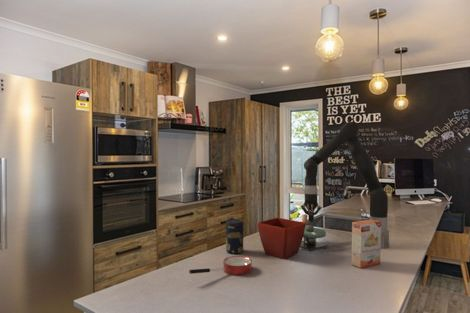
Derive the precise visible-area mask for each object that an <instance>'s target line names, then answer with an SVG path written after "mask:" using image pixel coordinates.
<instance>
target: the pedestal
mask: <svg viewBox="0 0 470 313" xmlns="http://www.w3.org/2000/svg"><path fill="white" fill-rule="evenodd" d="M327 247H328V244H327V243H323V242H319V241H317V238H304V237H303V239H302V242H301V245H300V248H299V249H303V250H306V251H309V252H315V251H317V250H321V249H325V248H327Z"/></svg>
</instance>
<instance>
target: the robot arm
mask: <svg viewBox="0 0 470 313" xmlns="http://www.w3.org/2000/svg"><path fill="white" fill-rule="evenodd" d="M359 131H360V127H359V125H358V123H356V122H354V121H348V122H346V123H344V124H343V125H342V126H341V128H340V131H338V133H337V134H336V135H335V136H334V137H332V138H331V139H330V140H329V141H328V142H326V144H324V145H323V146H322V147H320V149H319V150H317V151H316V152H315V153H314V154H312V156H310V157H308V159H307V160H305V162H304V164H303V168H304V169H305V177H304V191H303V192H304V202H303V204H302V205H300V208H301V209H302V211H303V213H304V214H305V215H307V217H308V222H310V223H313V221H315V216H316V215H318V213H319V212H320V211H321V210H322V206H320V205H319V202H318V186H317V185H318V182H317V181H318V179H317V176H318V171H319V170H318V168H319V167H318V166H319V165H320V164H322V163H324V162H325V161H326V160H327V159H328V158H329V157H331V156H332V155H333V154H334V152H336V151H337V150H338V149H339V148H340V147H341V146H342V145H343V144H344V143H345V144H346V145H347V147H348V150H349V152H350V155H351V157H352V160H353V162H354V165H355V167H356V170H357V172H358V173H359V175H360V176H361V178H362V180H363V181H364V183H365V184H366V188H367V190H368V194H369V220H376V221H380V222H381V249H386V248H388V247H390V230H389V229H388V212H389V210H388V208H389V202H388V201H389V197H388V194H387V191H386V190H385V189H384V187H383V186H382V184H381V182H380V180H379V178H378V175H377V170H376V168H375V164H374V162H373V160H372V157H370V156H371V155H370V154H369V152H368V151H367V150H366V149H365V148H364V146H363V145H362V144H361V141H360V140H359V137H358V133H359Z"/></svg>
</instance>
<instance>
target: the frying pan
mask: <svg viewBox="0 0 470 313" xmlns="http://www.w3.org/2000/svg"><path fill="white" fill-rule="evenodd" d="M252 264H253V262H252V259H251V258H250V257H247V256H241V255H235V256H228V257H226V258H224V259H223V265H222V266H223V267H219V268H215V267H214V268H210V267H209V268H197V269H189V271H188V273H189V274H193V275H194V274H202V273H203V274H204V273H211V272H221V271H224V272H225V274H229V275H232V276H244V275H247V274H250V273H251V272H252V268H253V265H252Z"/></svg>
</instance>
